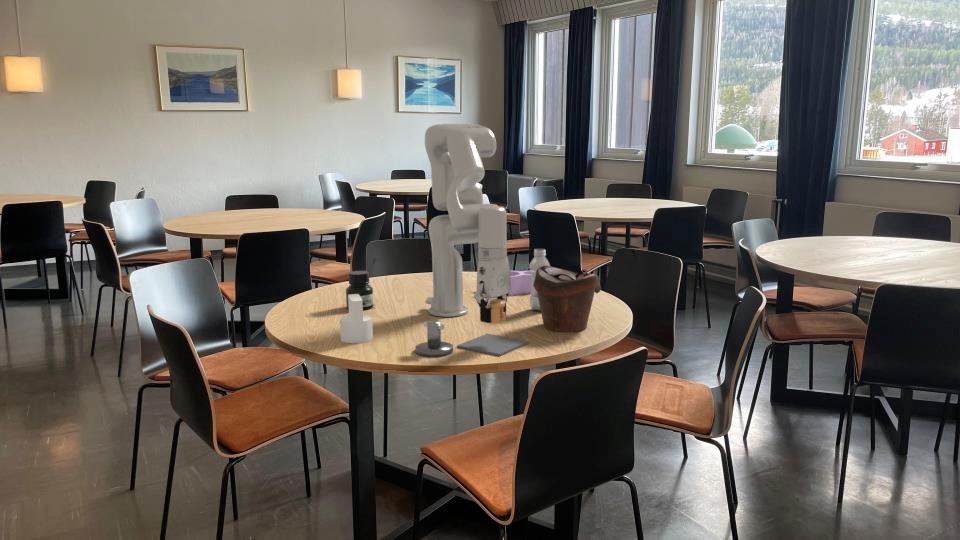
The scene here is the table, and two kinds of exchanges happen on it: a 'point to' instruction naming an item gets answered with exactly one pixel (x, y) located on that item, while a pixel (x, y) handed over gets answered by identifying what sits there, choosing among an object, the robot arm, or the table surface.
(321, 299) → the table surface
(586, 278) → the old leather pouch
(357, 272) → the ink bottle
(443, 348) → the grey post on disc
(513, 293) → the clip
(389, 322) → the table surface
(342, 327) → the cylinder with rectangular tab
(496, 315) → the orange ellipsoid with prongs
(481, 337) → the mat
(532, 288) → the plastic bottle
